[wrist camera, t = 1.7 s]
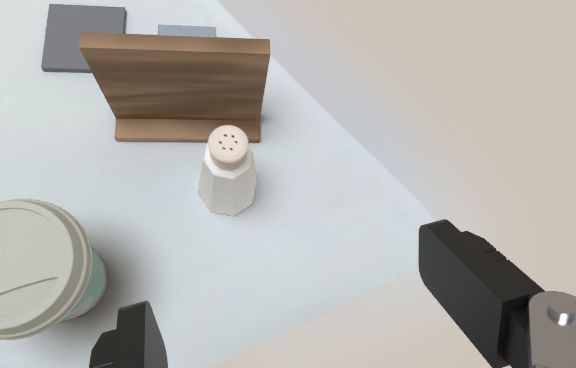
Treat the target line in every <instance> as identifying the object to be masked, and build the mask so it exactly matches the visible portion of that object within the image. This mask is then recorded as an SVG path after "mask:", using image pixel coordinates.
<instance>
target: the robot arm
mask: <svg viewBox="0 0 576 368" xmlns="http://www.w3.org/2000/svg"><path fill="white" fill-rule="evenodd" d="M419 272H420V275H421V278H422V280H423V282H424V284H425V286H426V287H427V288H428V290H429V291H430V292H431V293H432V295H433V296H434V297H435V298H436V299H437V301H438V302H439V303H440V304H441V306H442V307H443V308H444V309H445V310H446V312H447V313H448V314H449V315H450V317H451V318H452V319H453V320H454V321H455V323H456V324H457V325H458V326H459V327H460V329H461V330H462V331H463V332H464V334H465V335H466V336H467V337H468V338H469V340H470V341H471V342H472V343H473V344H474V346H475V347H476V348H477V349H478V351H479V352H480V353H481V354H482V356H483V357H484V358H485V359H486V360H487V362H488V363H489V364H490V365H491V367H492V368H502V367H505V366H508V365H510V366H511V367H512V368H576V297H575V296H573V295H570V294H567V293H563V292H557V291H544V290H543V289H542V288H541V287H540V286H539V285H537V284H536V283H535V282H534V281H533V280H531V279H530V278H529V277H528V276H527V275H526V274H525V273H523V272H522V271H521V270H520V269H519V268H518V267H516V266H515V265H514V264H513V263H512V262H510V261H509V260H507V259H506V257H505V256H503V254H501V253H500V252H499V251H496V248H494V247H493V246H492V245H491V244H490V243H489V242H487V241H486V240H485V239H484V238H481V237H480V236H477V235H475V234H473V233H470V232H468V231H464V232H460V231H459V230H458V229H457V228H456V227H455V226H454V225H453V224H452V223H451V222H449V221H448V220H445V219H444V220H440V221H436V222H432V223H429V224H425V225H422V226H421V227H420V228H419ZM89 368H168V363H167V355H166V349H165V345H164V342H163V339H162V336H161V333H160V330H159V328H158V325H157V322H156V319H155V317H154V314H153V311H152V308H151V306H150V303H149V302H148V301H144V302H140V303H136V304H133V305H129V306H125V307H122V308H119V310H118V318H117V329H115V330H111V331H108V332H104V333H102V334H101V336H100V338H99V339H98V341H97V342H96V344H95V346H94V347H93V349H92V352H91V358H90V364H89Z"/></svg>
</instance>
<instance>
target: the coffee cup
mask: <svg viewBox="0 0 576 368" xmlns="http://www.w3.org/2000/svg"><path fill="white" fill-rule="evenodd" d="M106 287H107V270H106V267H105V265H104V263H103V261H102V260H101V258H100V257H99V255H98V254H97V253H96V252H95V250H94V249H93V248H92V246H91V245H90V242H89V239H88V236H87V234H86V232H85V230H84V228H83V227H82V225H81V224H80V223H79V222H78V220H77V219H76V218H75V217H74V216H72V215H71V214H70V213H69V212H67V211H66V210H64V209H62V208H61V207H59V206H56V205H54V204H51V203H48V202H44V201H39V200H32V199H16V200H9V201H4V202H0V340H14V339H21V338H26V337H30V336H33V335H36V334H38V333H41V332H43V331H45V330H47V329H49V328H51V327H52V326H54V325H55V324H57V323H59V322H63V321H66V320H69V319H72V318H75V317H78V316H81V315H83V314H85V313H87V312H89V311H90V310H91V309H93V308H94V307H95V306H96V305H97V304H98V303H99V301H100V300H101V298H102V297H103V295H104V293H105V290H106Z"/></svg>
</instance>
